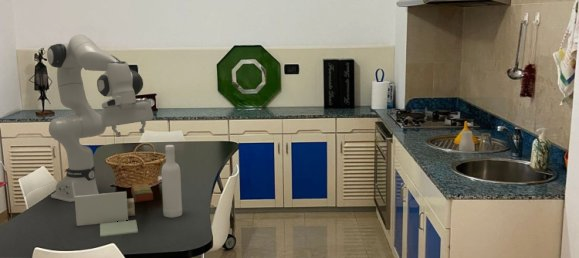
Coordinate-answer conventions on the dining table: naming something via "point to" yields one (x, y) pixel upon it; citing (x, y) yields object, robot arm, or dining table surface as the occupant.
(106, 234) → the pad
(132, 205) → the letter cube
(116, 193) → the screen
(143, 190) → the carton
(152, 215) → the dining table surface
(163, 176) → the bottle
